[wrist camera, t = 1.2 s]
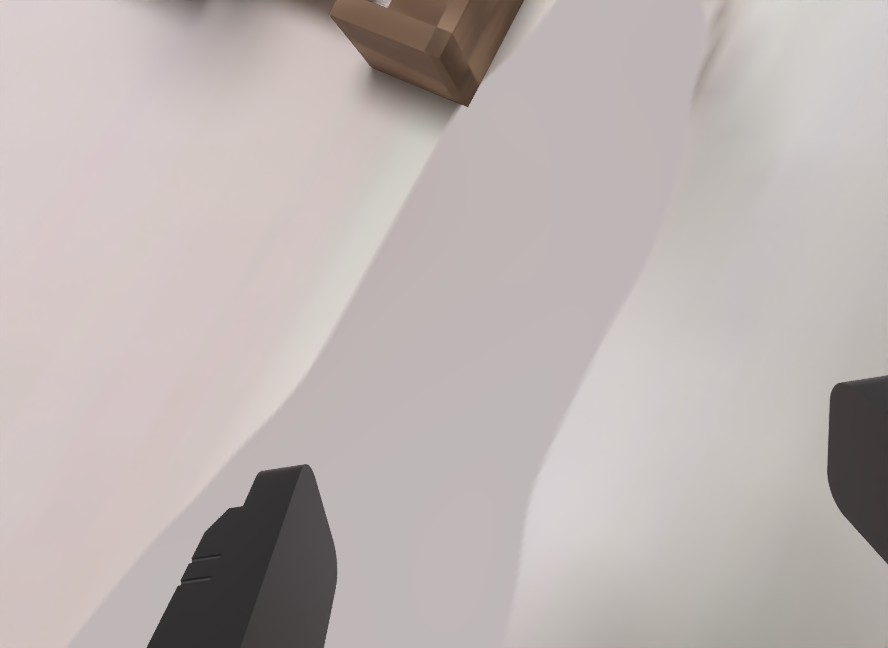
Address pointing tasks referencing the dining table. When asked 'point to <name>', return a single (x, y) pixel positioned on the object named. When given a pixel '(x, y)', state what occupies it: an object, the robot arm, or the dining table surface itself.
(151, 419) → the dining table surface
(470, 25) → the socket
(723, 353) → the dining table surface
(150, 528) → the dining table surface
